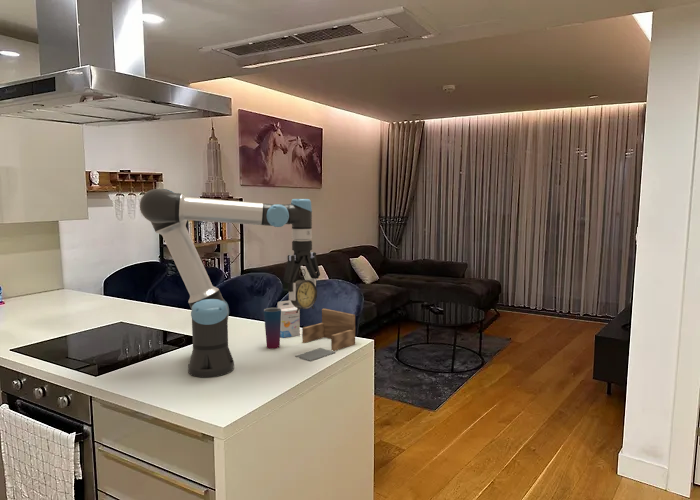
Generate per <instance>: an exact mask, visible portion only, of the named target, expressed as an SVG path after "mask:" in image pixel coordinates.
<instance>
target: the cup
mask: <svg viewBox="0 0 700 500" xmlns="http://www.w3.org/2000/svg"><path fill="white" fill-rule="evenodd" d="M263 316H264V329H265V330H264V331H265V339H266V341H265V342H266V348H267V349H270V350H271V349H278V348H280V347H281V345H280V344H281V343H280V342H281V337H280V326H281V309H280V308H278V307H267V308H264V309H263Z"/></svg>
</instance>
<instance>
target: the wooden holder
mask: <svg viewBox="0 0 700 500" xmlns="http://www.w3.org/2000/svg"><path fill="white" fill-rule="evenodd" d="M301 330H302V332H301V333H302V337H301V338H302V343H303V344H305V343H309V342H313V341H317V340H320V339H322V338H326V339H329V340H330V348H331V350H330V351H332V350H333V352H336V351H338V349H339V350H343V349H345V348H348V347H351V346H353V345H356V314H354V313H348V312H345V311H340V310H333V309H329V308H322V309H321V322H320V323H316V324H311V325H308V326H303V327H302V328H301ZM335 350H336V351H335Z"/></svg>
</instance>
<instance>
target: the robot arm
mask: <svg viewBox="0 0 700 500" xmlns="http://www.w3.org/2000/svg"><path fill="white" fill-rule="evenodd" d="M290 202H291V203H287V204H284V203H282V204H281V203H280V204H279V203H277V204H276V203H262V202H253V201H241V200H239V201H238V200H226V199H214V198H203V197H192V196H191V197H190V196H186V195H184V193H181V192H180V193H179V192H173V191H172V190H170V189H167V188H153V189H150V190H148V191H147V192H145V193H144V194H143V195H142V196H141V199H140V200H139V211H140V213H141V214H142V216H143V217H144V219H146V220H147V221H149V222H150V223H151V225H152V227H153V231H155V233H156V234H158V235H161V236H162V238H163V241H164V242H165V245H166V247H167V248H168V251H169V253H170V255H171V257H172V260H173V261H174V264H175V266H176V269H177V271H178V272H179V275H180V277H181V279H182V281H183V283H184V285H185V288H186V290H187V292H188V294H189V299H188V302H187V303H188V304H189V307H190V309H191V312H190V316H191V331H192V333H191V334H192V336H191V337H192V351H191V354H190V358H189V361H188V365H187V367H188V368H187V371H188V374H189V375H190V376H193V377H197V378H213V377H219V376H223V375H225V374H226V375H227V374H229V373H231V372H232V371H233V370H234V369H235V361H234V358H233V355H232V352H231V350H230V348H229V334H228V332H229V328H228V325H229V324H228V322H229V315H230V308H229V304H228V302H227V301H226V300H225V299H224V298H223V296H222V293H221V291H220V289H219V288H218V287H217V286H214V285H213V284H212V282H211V279H210V276H209V275H208V272H207V270H206V268H205V266H204V263H203V261H202V260H201V257H200V254H199V253H198V250H197V249H196V246H195V244H194V242H193V239H192V238H191V234H190V232H189V231H188V228H187V222H188V221H197V222H209V223H211V222H212V223H225V224H226V223H227V224H241V225H254V226H255V225H256V226H264V227H265V226H268V227H269V226H270V227H275V228H282V227H283V226H285V225H291V239H292V241H291V250H292V251H293V254H288V255H287V262H286V268H285V271H284V275H283V276H284V277H283V282H285V283H287V291H288V301H290V300H293V301H295V300H296V283H295V281H296V277H297V275H298V274H299V273H298V272H299V271H300V268H301V267H302V266H303V265H304V266H305V269H306V270H307V272H308V274H309V276H310V278H308V280H310V281H312V282H313V283H314V284H315V286H316V287H317V279H319V278H320V276H321V273H320V272H321V271H320V268H319V267H320V266H319V265H318V264H319V263H318V260H317V253H316V252H312V250H313V241H312V239H313V231H312V230H313V229H312V228H313V220H312V219H313V208H312V201H311V199H309V198H292V199H291V201H290Z"/></svg>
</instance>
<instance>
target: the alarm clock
mask: <svg viewBox="0 0 700 500" xmlns="http://www.w3.org/2000/svg"><path fill="white" fill-rule="evenodd" d="M302 271H304V274H303V275H301V272H302ZM298 272H299V273H298V274H299V277H300V278H301V279H297V280H295V281H294V283H296V300H295V301H293V300H291V302H292V304H293V305H294V307H296V308H297V312H296V313H298V311H299V309H300V310H301V309H302V310H309V309H310V308H311V309H312V310H313V309H315V307H314V304H315V303H316V301H317V297H318V290H317V285H316V286H315V284H314V283H313V282H312V281H310V280H309V279H304V277H305V275H306V268H301V269H299V271H298Z"/></svg>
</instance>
